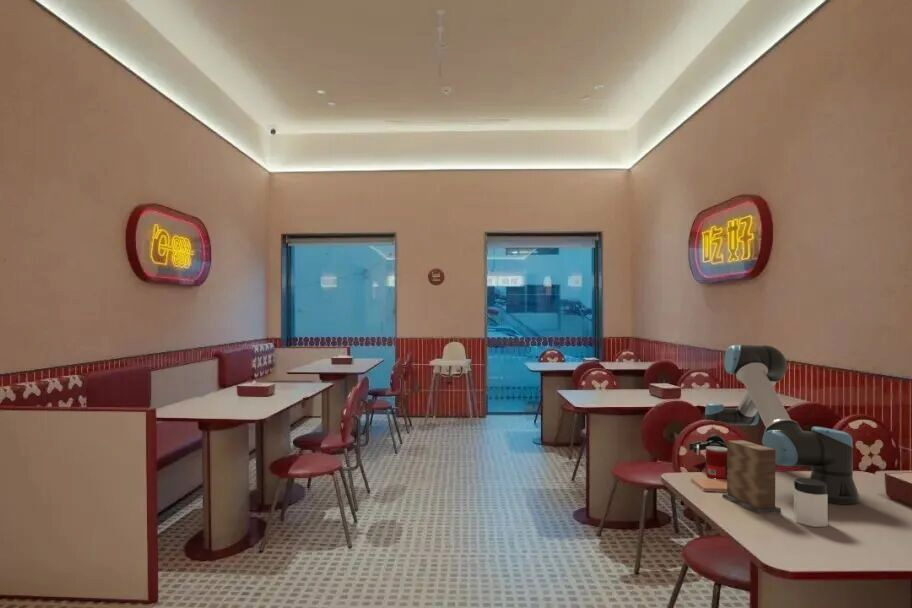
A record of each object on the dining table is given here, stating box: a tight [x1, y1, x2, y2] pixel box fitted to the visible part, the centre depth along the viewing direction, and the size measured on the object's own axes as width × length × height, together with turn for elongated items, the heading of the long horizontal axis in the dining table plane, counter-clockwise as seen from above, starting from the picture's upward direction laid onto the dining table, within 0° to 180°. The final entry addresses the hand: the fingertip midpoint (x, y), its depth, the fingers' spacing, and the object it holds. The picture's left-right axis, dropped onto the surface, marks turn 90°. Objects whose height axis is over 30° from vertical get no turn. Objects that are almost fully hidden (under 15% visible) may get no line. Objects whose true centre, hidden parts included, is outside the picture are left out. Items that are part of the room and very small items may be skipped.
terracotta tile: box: [690, 477, 727, 493], centre depth 200 cm, size 12×12×1 cm
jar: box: [793, 477, 829, 528], centre depth 166 cm, size 9×8×12 cm
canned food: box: [705, 446, 727, 480], centre depth 213 cm, size 8×8×11 cm
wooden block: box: [722, 439, 781, 514], centre depth 182 cm, size 16×8×19 cm, turn 15°
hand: (716, 453), depth 222 cm, fingers open, 13 cm apart
